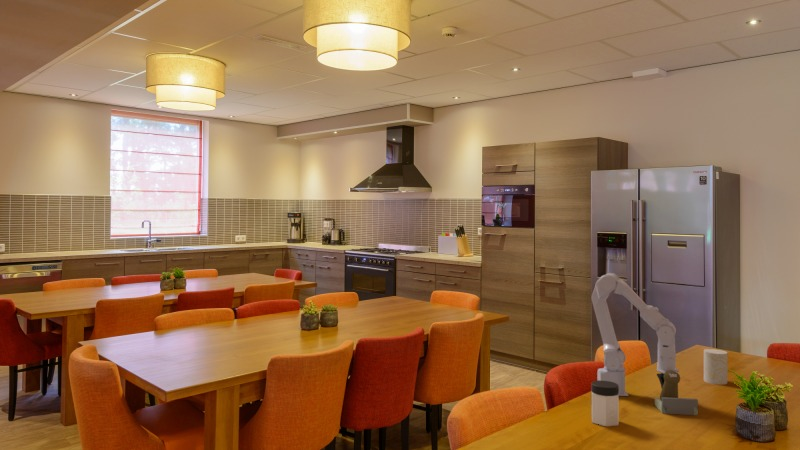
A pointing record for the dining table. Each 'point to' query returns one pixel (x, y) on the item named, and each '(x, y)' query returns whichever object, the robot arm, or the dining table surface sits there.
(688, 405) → the grey rectangular box
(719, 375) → the white stone cylinder
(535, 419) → the dining table surface
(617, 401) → the jar
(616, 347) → the robot arm
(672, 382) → the cork
